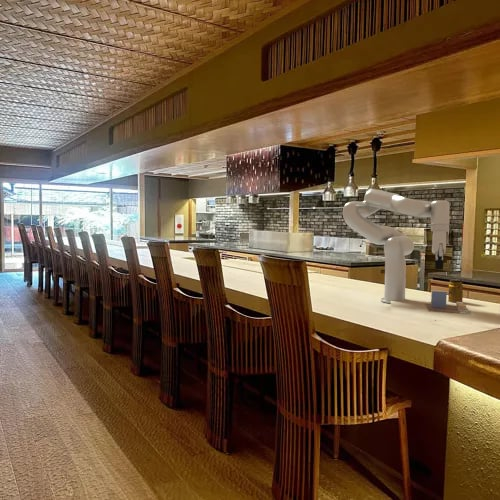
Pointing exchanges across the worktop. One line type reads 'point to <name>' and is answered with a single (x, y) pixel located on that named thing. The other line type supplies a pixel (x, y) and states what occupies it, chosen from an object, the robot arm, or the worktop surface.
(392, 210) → the robot arm
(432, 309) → the board
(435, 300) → the tile
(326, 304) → the worktop surface
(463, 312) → the turner
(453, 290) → the condiment
